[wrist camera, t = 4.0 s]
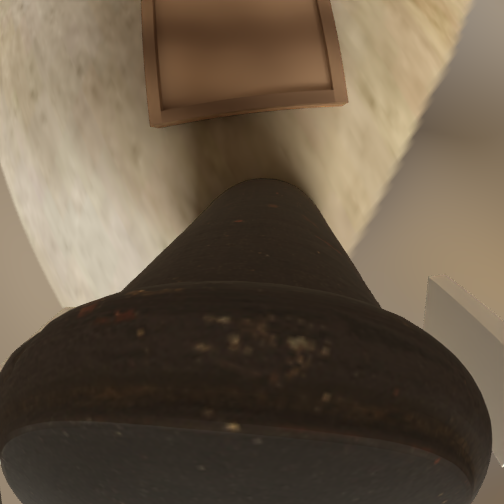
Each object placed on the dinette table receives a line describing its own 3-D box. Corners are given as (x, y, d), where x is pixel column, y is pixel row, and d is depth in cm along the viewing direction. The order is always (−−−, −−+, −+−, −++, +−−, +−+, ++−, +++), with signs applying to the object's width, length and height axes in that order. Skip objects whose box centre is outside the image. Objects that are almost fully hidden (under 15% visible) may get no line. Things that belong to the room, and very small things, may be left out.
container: (172, 249, 22) (-32, 498, 3) (252, 144, 20) (-2, 41, 1) (268, 321, 23) (256, 617, 4) (352, 228, 21) (565, 491, 2)
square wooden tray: (149, -16, 16) (140, -27, 15) (313, -40, 15) (316, -52, 14) (159, 128, 20) (150, 126, 18) (341, 106, 19) (348, 102, 17)
